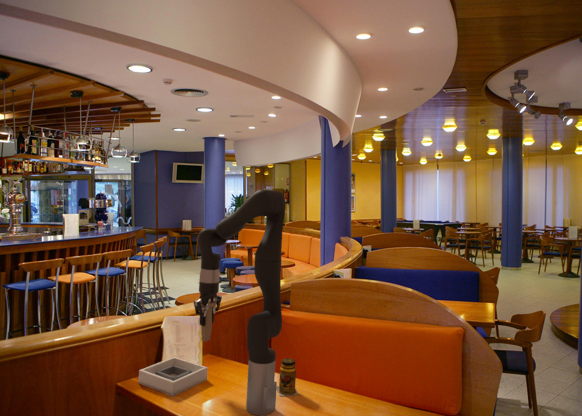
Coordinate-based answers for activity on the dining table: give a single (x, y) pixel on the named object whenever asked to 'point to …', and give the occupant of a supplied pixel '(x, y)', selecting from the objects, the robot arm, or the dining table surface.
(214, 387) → the dining table surface
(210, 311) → the handle
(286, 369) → the condiment
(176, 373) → the box
